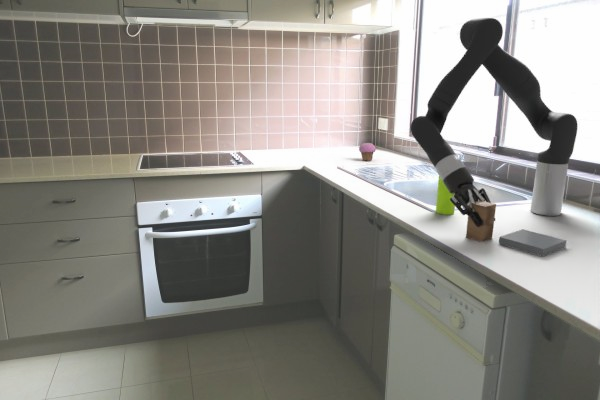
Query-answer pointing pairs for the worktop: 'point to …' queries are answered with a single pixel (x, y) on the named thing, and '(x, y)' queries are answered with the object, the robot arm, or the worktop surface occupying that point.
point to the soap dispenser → (444, 199)
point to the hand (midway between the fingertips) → (486, 223)
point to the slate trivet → (532, 242)
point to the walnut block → (487, 215)
